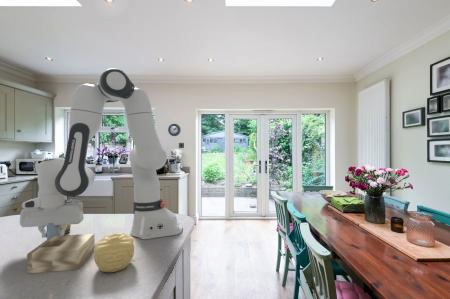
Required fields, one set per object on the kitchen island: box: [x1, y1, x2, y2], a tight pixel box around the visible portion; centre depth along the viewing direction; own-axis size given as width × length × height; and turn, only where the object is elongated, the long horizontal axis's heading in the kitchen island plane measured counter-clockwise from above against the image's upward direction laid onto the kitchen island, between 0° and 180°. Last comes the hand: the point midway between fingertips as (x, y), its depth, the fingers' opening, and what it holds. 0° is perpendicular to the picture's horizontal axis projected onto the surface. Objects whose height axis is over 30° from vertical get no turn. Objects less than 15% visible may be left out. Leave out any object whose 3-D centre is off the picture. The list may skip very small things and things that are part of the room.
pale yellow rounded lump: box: [93, 232, 135, 273], centre depth 74 cm, size 12×12×11 cm
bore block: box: [26, 233, 95, 274], centre depth 78 cm, size 14×14×6 cm
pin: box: [46, 223, 60, 240], centre depth 88 cm, size 4×4×10 cm
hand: (53, 236), depth 88 cm, fingers closed on pin, 4 cm apart
